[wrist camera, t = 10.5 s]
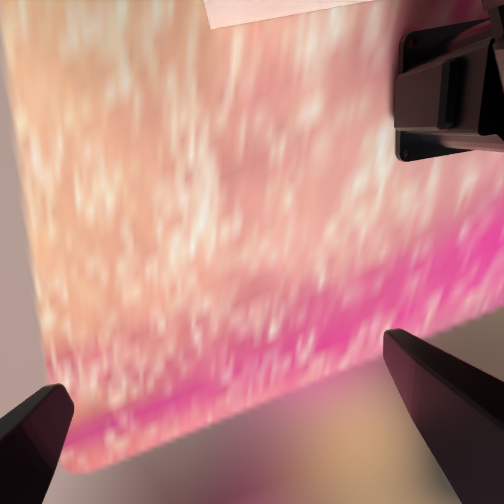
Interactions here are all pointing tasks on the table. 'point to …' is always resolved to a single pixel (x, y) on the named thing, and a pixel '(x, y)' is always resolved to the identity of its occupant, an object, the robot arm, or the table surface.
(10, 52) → the table surface
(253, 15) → the socket block
